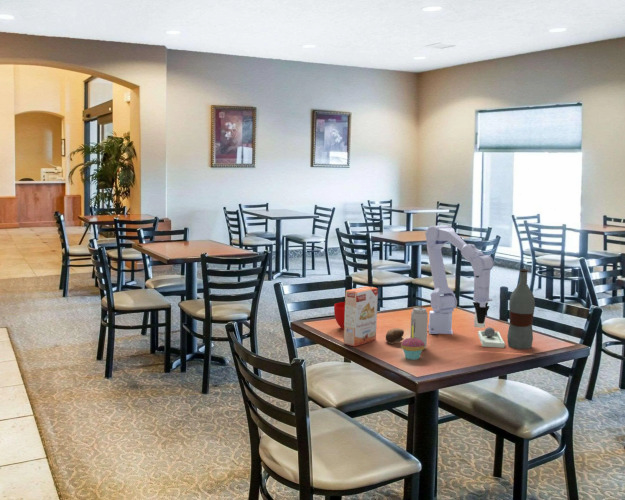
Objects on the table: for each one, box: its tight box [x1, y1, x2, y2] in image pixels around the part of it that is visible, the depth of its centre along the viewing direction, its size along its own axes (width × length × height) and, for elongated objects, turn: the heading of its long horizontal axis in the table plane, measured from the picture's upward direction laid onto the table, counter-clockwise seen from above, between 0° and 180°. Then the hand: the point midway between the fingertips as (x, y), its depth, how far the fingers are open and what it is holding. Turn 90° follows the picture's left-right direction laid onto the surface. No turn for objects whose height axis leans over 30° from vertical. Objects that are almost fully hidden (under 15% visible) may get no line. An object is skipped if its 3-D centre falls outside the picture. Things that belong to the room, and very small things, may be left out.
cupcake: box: [400, 323, 426, 361], centre depth 230 cm, size 9×8×12 cm
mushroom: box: [385, 327, 405, 344], centre depth 250 cm, size 8×8×6 cm
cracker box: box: [343, 285, 379, 347], centre depth 249 cm, size 14×6×21 cm, turn 139°
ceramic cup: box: [333, 301, 345, 331], centre depth 272 cm, size 13×17×10 cm
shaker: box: [473, 311, 486, 328], centre depth 250 cm, size 4×4×6 cm
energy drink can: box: [409, 307, 429, 348], centre depth 242 cm, size 6×6×15 cm
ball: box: [483, 326, 496, 337], centre depth 258 cm, size 4×4×4 cm
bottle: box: [507, 268, 536, 350], centre depth 244 cm, size 9×9×30 cm
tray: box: [477, 330, 506, 349], centre depth 253 cm, size 8×18×2 cm, turn 171°
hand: (480, 321), depth 250 cm, fingers closed on shaker, 4 cm apart
